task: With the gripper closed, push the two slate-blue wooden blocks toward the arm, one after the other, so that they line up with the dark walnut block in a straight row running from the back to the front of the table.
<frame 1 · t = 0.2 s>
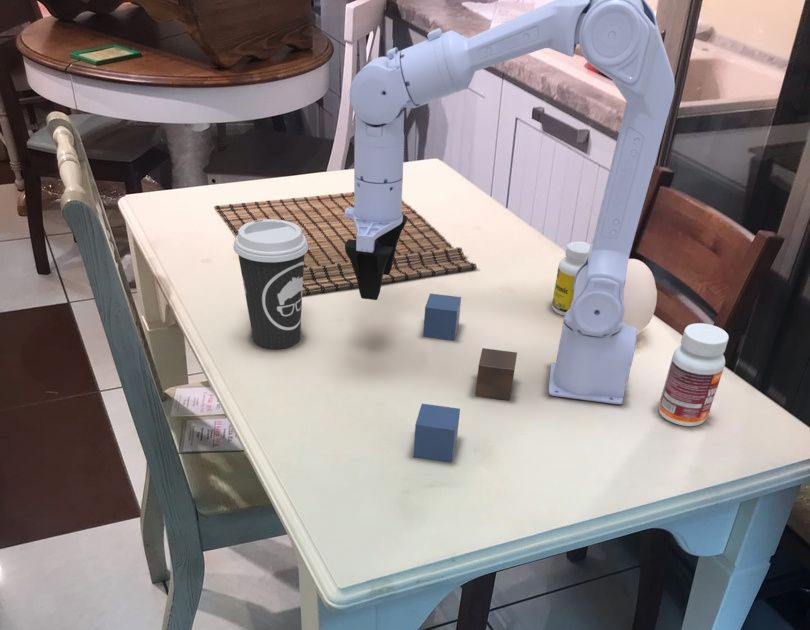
hand: (375, 285, 107), 10 cm above the table, tool pointing down, fingers open, 7 cm apart
walnut block: (494, 389, 108), on the table
supplement bottle: (568, 310, 127), on the table
egg: (615, 338, 121), on the table
pill bottle: (681, 415, 106), on the table
blue block far: (441, 331, 120), on the table
blue block near: (435, 448, 98), on the table
coffee cup: (276, 339, 116), on the table
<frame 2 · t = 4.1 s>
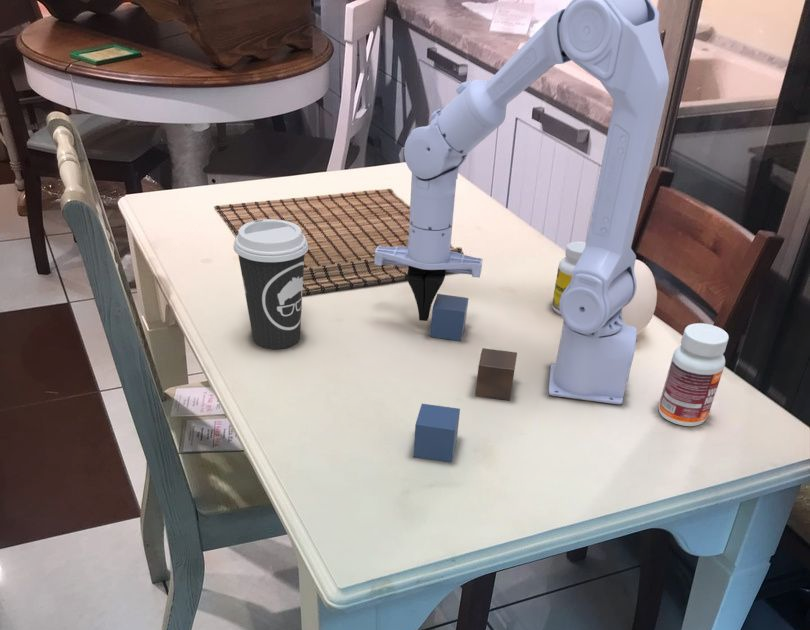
hand: (424, 317, 119), 2 cm above the table, tool pointing down, fingers closed
blue block far: (447, 331, 120), on the table, touching gripper
everything else where it was.
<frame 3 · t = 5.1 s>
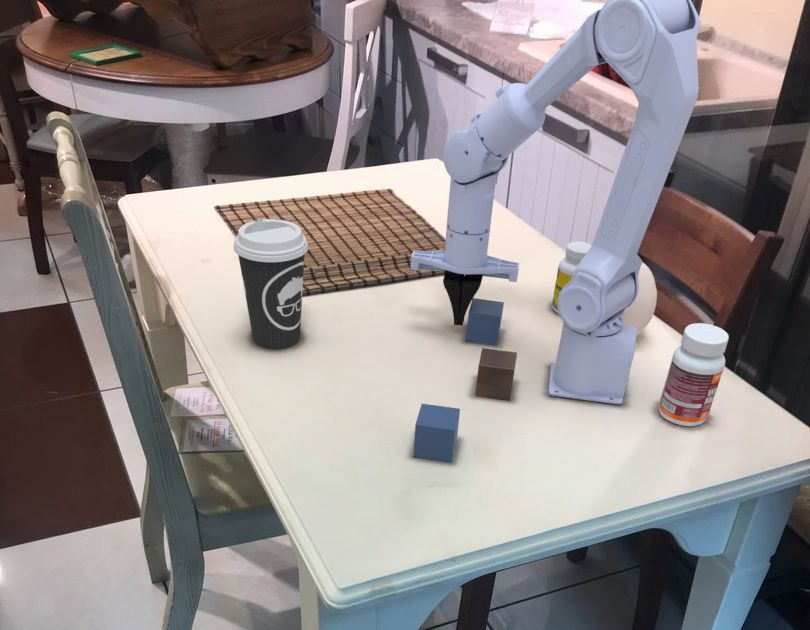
hand: (459, 322, 118), 2 cm above the table, tool pointing down, fingers closed
blue block far: (482, 336, 119), on the table, touching gripper
everything else where it was.
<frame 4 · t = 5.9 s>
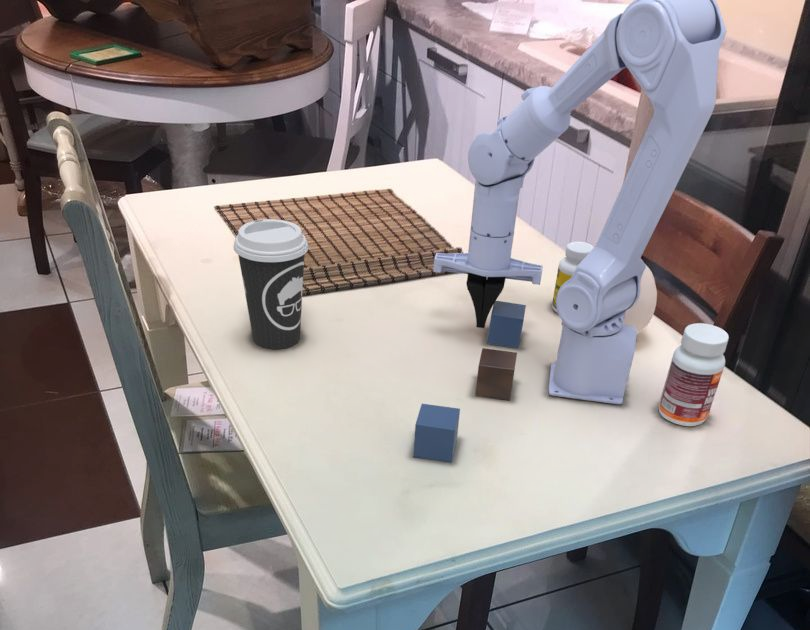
hand: (481, 324, 118), 2 cm above the table, tool pointing down, fingers closed
blue block far: (503, 338, 119), on the table, touching gripper
everything else where it was.
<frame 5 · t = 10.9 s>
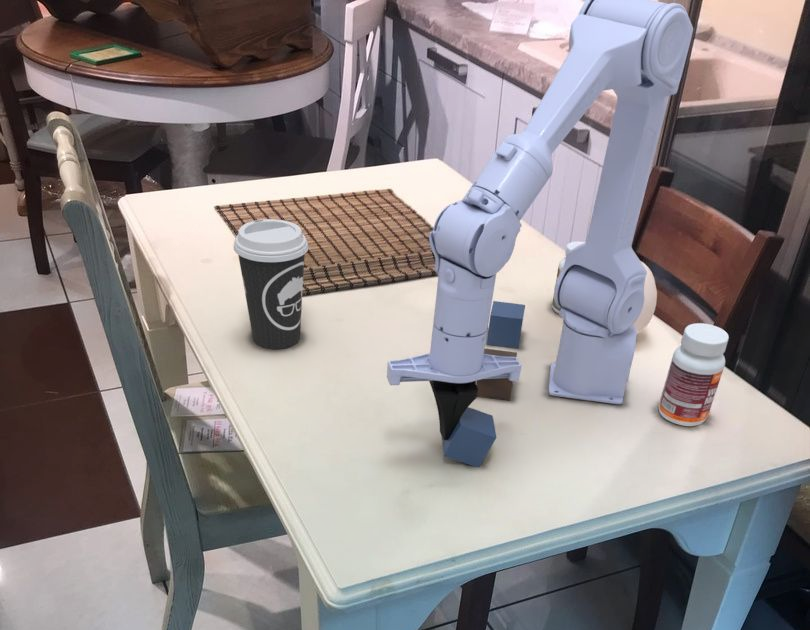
hand: (445, 435, 95), 3 cm above the table, tool pointing down, fingers closed, pressing on blue block near
blue block far: (503, 339, 119), on the table
blue block near: (460, 450, 97), point 1 cm above the table, tilted 20°, touching gripper
everything else where it was.
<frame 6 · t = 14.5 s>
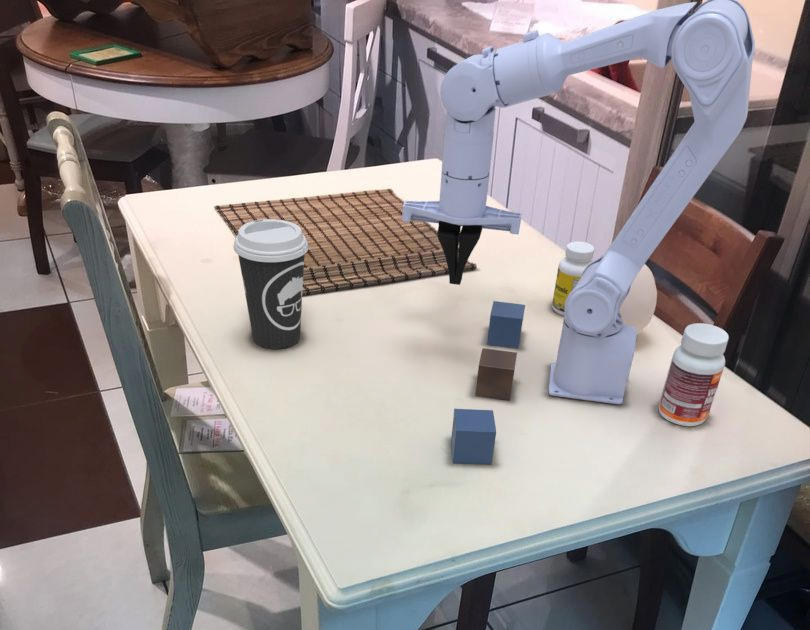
hand: (455, 281, 108), 10 cm above the table, tool pointing down, fingers closed
blue block near: (471, 452, 98), on the table
everything else where it was.
at the end: blue block far inside the target area on the table beside the walnut block (1.0 cm from its centre), on the table; blue block near inside the target area on the table beside the walnut block (1.8 cm from its centre), on the table; walnut block moved 0.0 cm from its start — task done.
